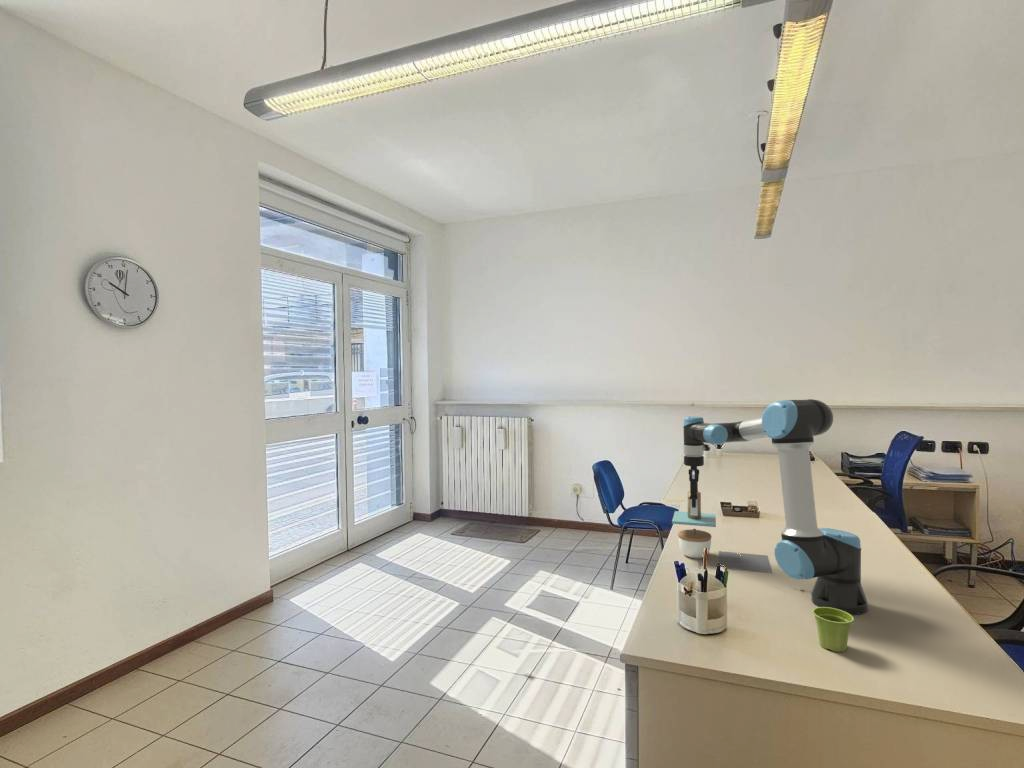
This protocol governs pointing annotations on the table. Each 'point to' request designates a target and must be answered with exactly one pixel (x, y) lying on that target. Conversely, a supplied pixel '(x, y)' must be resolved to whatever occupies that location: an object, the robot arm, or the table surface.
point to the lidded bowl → (694, 542)
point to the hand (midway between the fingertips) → (694, 513)
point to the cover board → (696, 522)
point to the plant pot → (833, 627)
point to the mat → (745, 561)
